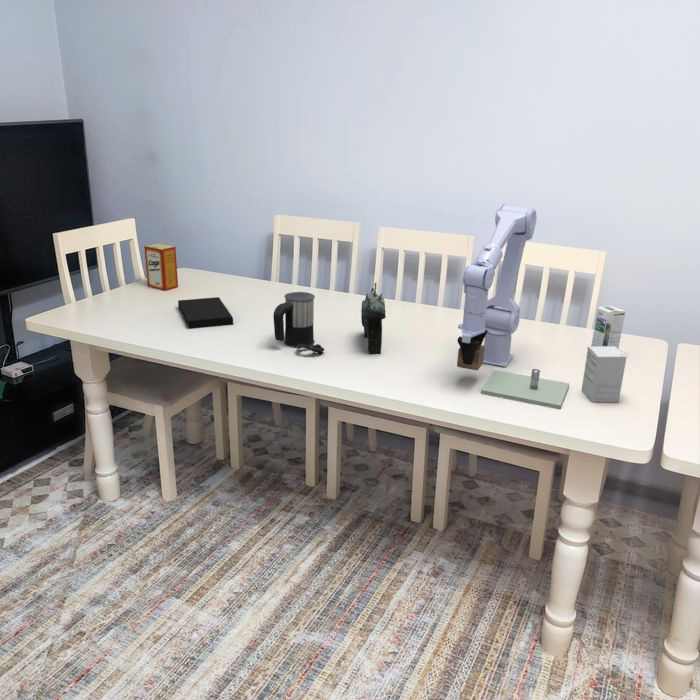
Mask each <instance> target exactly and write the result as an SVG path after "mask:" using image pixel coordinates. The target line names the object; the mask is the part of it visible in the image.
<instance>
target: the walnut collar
mask: <svg viewBox="0 0 700 700" xmlns="http://www.w3.org/2000/svg"><path fill="white" fill-rule="evenodd" d="M484 349H485V346H484V345H478V346H477V348H476V351H475V354H474V359H473V362H472V364H471V365H468V364H464V363H463V358H462V352H461V348H460V347H459V348H458V352H457V360H456V361H457V363H456V367H457V368H460V369H467V370H473V371H477V372H478V371H479V370H480V368H481V367H482V366H483V364H484V363H483V359H484Z"/></svg>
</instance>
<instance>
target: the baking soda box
mask: <svg viewBox="0 0 700 700" xmlns="http://www.w3.org/2000/svg"><path fill="white" fill-rule="evenodd" d="M144 257H145V258H144V260H145V267H146V268H145V269H146V281H147V287H148V288H151V289H155V290H159V291H163V292H167V291H170V290H173V289H176V288H177V289H178V288H179V280H178V264H177V252H176V246H174V245H169V244H163V243H159V242H158V243H153V244H148V245H144Z"/></svg>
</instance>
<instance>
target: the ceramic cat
mask: <svg viewBox="0 0 700 700" xmlns="http://www.w3.org/2000/svg"><path fill="white" fill-rule="evenodd" d="M376 290H377V282H375V283H374V288H373V287H372V288H371V290H370V292H367V293H366V295H365V299H364V300H363V299H362V301H361V311H360V313H361V314H360V316H361V317H360V319H361V326H362V327H363V335H364V338H366V339H367V351H368V354H369V355H370V354H380V355H381V354H382V341H383V320H384V319H386V317H387V315H386V304H385V302H386V301H385V299H384V297H383V293H381V294H379V295H378V293H377V291H376Z"/></svg>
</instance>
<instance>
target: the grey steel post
mask: <svg viewBox="0 0 700 700" xmlns="http://www.w3.org/2000/svg"><path fill="white" fill-rule="evenodd" d="M540 374H541V369H537V368H533V369H531V374H530V376H531V382H530V389H533V390H537V389H538V382H539V378H540Z"/></svg>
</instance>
